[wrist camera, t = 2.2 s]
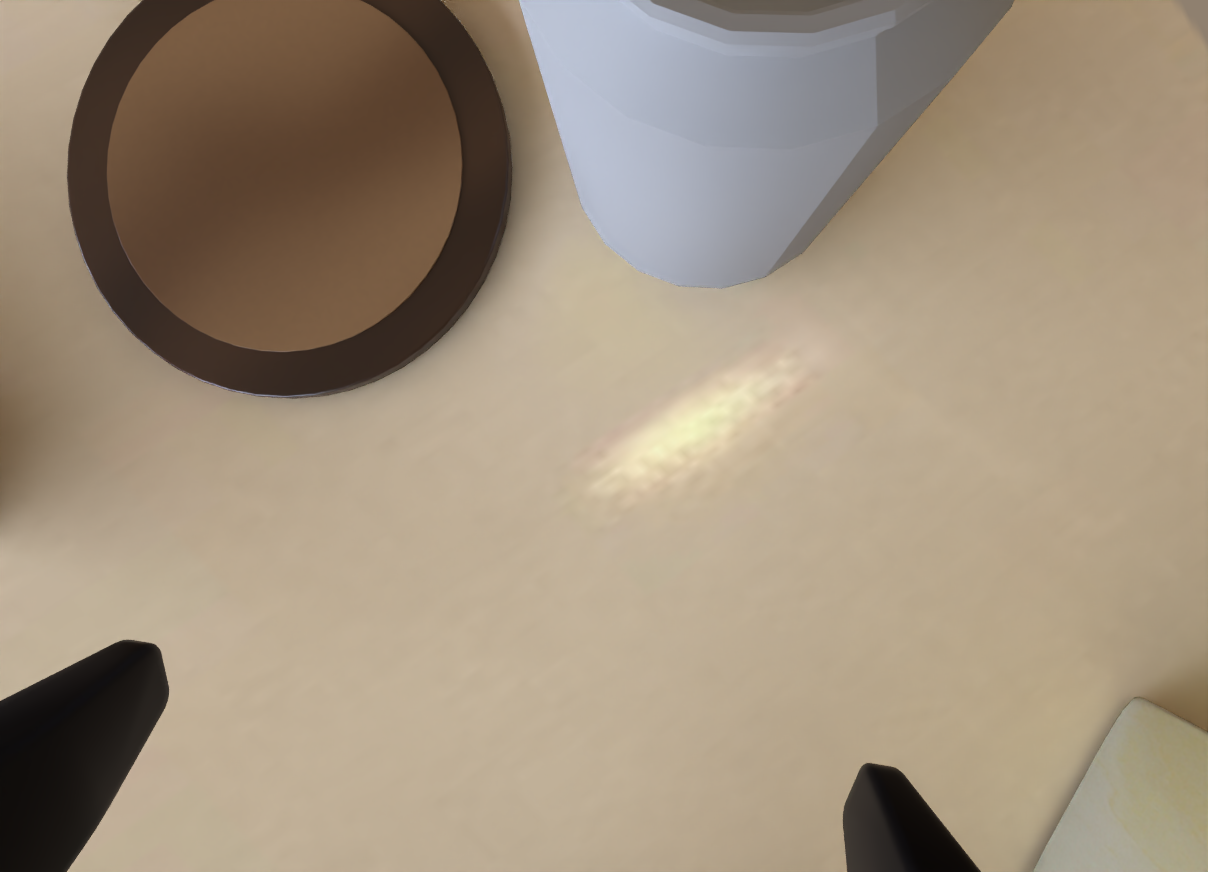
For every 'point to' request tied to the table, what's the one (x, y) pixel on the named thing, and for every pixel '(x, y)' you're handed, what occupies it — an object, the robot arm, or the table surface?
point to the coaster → (289, 186)
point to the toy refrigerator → (1138, 800)
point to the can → (737, 116)
